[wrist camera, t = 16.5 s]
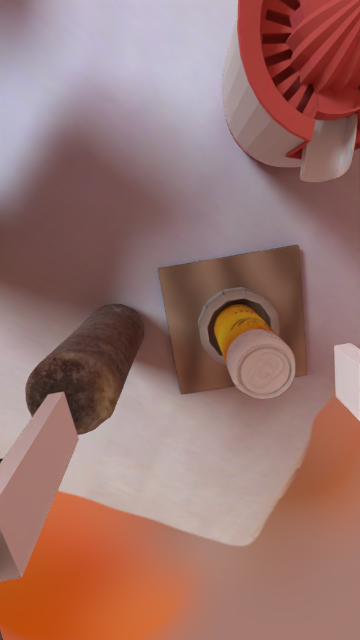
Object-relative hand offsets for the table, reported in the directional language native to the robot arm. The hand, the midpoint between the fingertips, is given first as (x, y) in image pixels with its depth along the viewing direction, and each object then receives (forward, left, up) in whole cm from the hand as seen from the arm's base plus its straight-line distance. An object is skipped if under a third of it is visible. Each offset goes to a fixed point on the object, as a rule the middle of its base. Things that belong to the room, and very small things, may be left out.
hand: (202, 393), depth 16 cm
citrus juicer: (+14, +18, -29) cm, 37 cm away
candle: (-10, -4, -29) cm, 31 cm away
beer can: (+6, -6, -28) cm, 29 cm away
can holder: (+6, -6, -29) cm, 30 cm away
